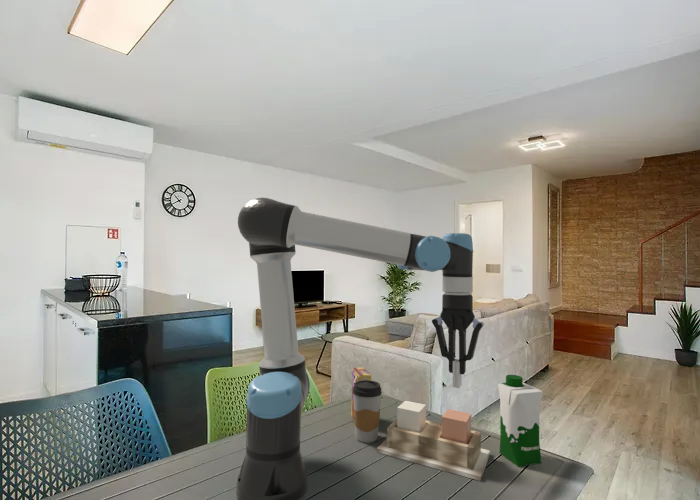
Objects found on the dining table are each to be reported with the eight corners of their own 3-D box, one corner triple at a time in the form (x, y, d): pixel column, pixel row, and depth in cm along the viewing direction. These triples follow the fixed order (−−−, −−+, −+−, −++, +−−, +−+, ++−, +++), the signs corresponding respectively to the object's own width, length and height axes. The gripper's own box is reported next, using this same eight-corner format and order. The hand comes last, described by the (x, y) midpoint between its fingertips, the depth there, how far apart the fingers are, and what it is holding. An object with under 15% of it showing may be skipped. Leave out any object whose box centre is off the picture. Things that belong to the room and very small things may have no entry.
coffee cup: (381, 432, 111) (382, 380, 112) (380, 445, 103) (381, 389, 103) (353, 430, 112) (353, 379, 112) (350, 443, 104) (351, 388, 104)
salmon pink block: (441, 445, 95) (441, 416, 95) (447, 435, 100) (448, 409, 101) (466, 451, 92) (466, 422, 92) (471, 441, 97) (471, 413, 98)
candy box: (371, 425, 116) (371, 374, 116) (357, 426, 115) (358, 375, 115) (363, 414, 124) (364, 367, 125) (350, 415, 123) (351, 367, 124)
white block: (396, 434, 101) (397, 407, 101) (405, 425, 106) (405, 400, 106) (418, 439, 98) (418, 412, 98) (425, 430, 103) (426, 404, 103)
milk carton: (522, 447, 103) (521, 373, 103) (547, 465, 94) (547, 383, 95) (494, 451, 100) (494, 375, 101) (517, 469, 92) (517, 386, 92)
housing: (376, 452, 99) (377, 428, 99) (396, 431, 111) (397, 411, 112) (480, 481, 87) (480, 454, 87) (490, 454, 99) (490, 431, 99)
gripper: (486, 293, 98) (486, 386, 97) (436, 291, 104) (435, 378, 103) (481, 295, 91) (481, 395, 90) (428, 293, 97) (427, 385, 97)
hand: (457, 386), depth 97 cm, fingers closed
